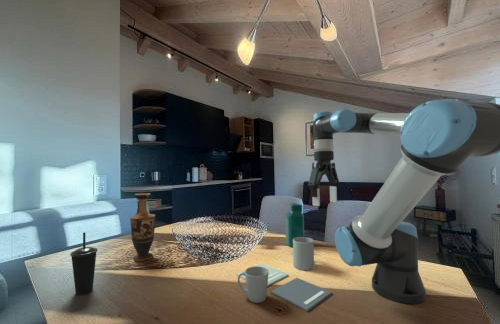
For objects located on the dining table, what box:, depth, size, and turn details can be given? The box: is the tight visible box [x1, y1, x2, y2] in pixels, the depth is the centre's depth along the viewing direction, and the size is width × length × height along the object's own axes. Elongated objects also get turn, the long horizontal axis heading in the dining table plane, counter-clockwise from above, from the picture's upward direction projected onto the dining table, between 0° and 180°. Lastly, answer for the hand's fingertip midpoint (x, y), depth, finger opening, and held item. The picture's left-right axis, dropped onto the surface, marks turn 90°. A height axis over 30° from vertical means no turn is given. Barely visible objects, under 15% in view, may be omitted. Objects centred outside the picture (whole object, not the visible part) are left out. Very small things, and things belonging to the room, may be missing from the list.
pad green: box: [236, 263, 289, 287], centre depth 91 cm, size 14×14×1 cm
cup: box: [237, 265, 269, 304], centre depth 76 cm, size 8×10×8 cm
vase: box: [129, 192, 156, 262], centre depth 111 cm, size 11×11×30 cm
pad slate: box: [270, 277, 333, 312], centre depth 78 cm, size 14×14×1 cm
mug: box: [292, 236, 315, 272], centre depth 101 cm, size 12×8×11 cm
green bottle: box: [284, 202, 305, 248], centre depth 127 cm, size 10×8×22 cm
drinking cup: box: [70, 232, 98, 296], centre depth 82 cm, size 8×8×20 cm
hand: (325, 203), depth 96 cm, fingers open, 13 cm apart
